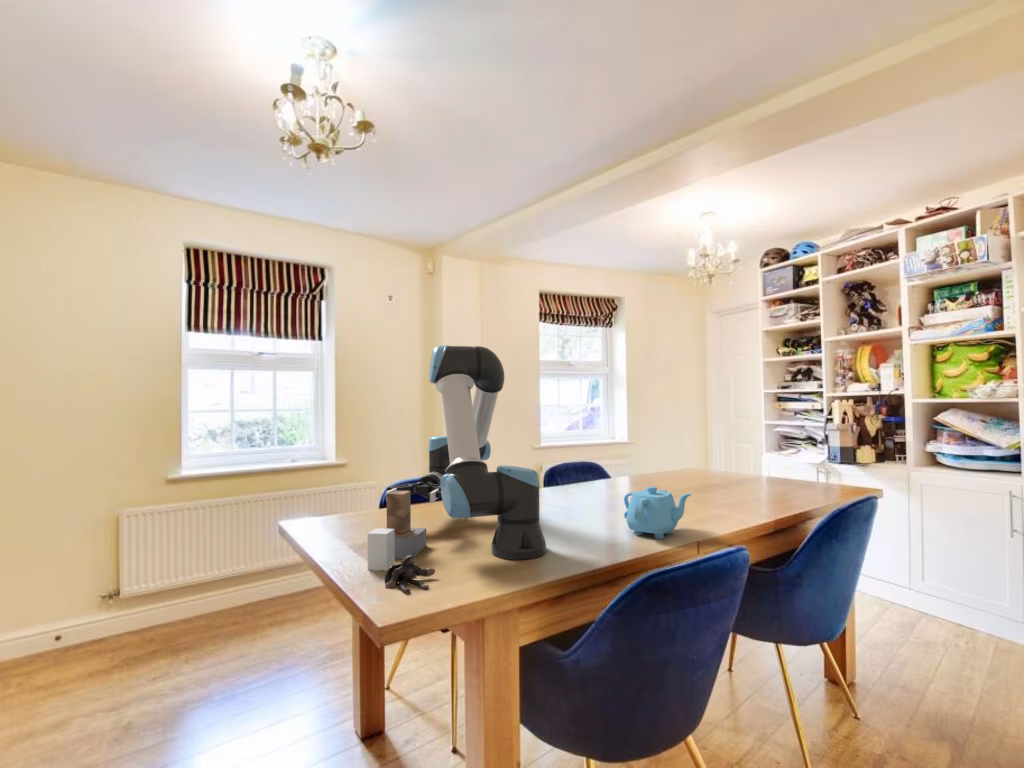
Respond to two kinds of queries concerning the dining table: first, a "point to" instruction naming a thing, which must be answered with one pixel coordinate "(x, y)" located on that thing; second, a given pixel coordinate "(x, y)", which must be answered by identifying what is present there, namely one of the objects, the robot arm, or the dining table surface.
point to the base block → (410, 542)
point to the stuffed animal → (406, 574)
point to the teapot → (653, 511)
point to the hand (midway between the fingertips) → (408, 497)
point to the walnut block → (399, 511)
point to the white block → (381, 549)
